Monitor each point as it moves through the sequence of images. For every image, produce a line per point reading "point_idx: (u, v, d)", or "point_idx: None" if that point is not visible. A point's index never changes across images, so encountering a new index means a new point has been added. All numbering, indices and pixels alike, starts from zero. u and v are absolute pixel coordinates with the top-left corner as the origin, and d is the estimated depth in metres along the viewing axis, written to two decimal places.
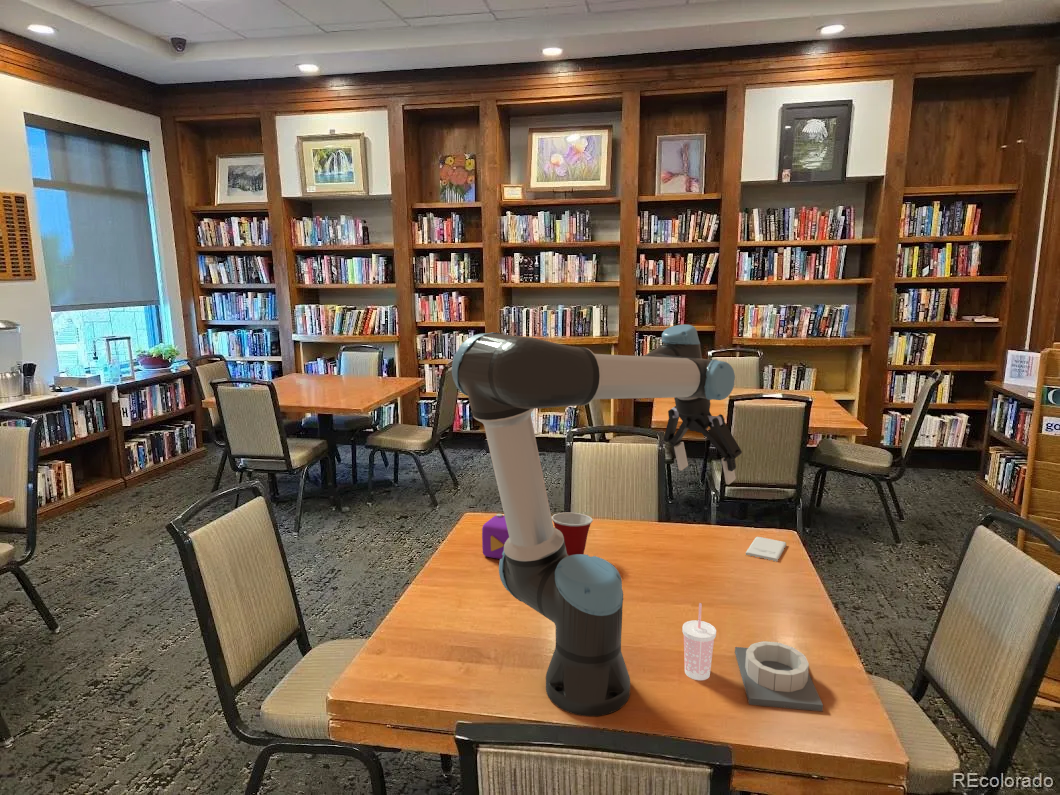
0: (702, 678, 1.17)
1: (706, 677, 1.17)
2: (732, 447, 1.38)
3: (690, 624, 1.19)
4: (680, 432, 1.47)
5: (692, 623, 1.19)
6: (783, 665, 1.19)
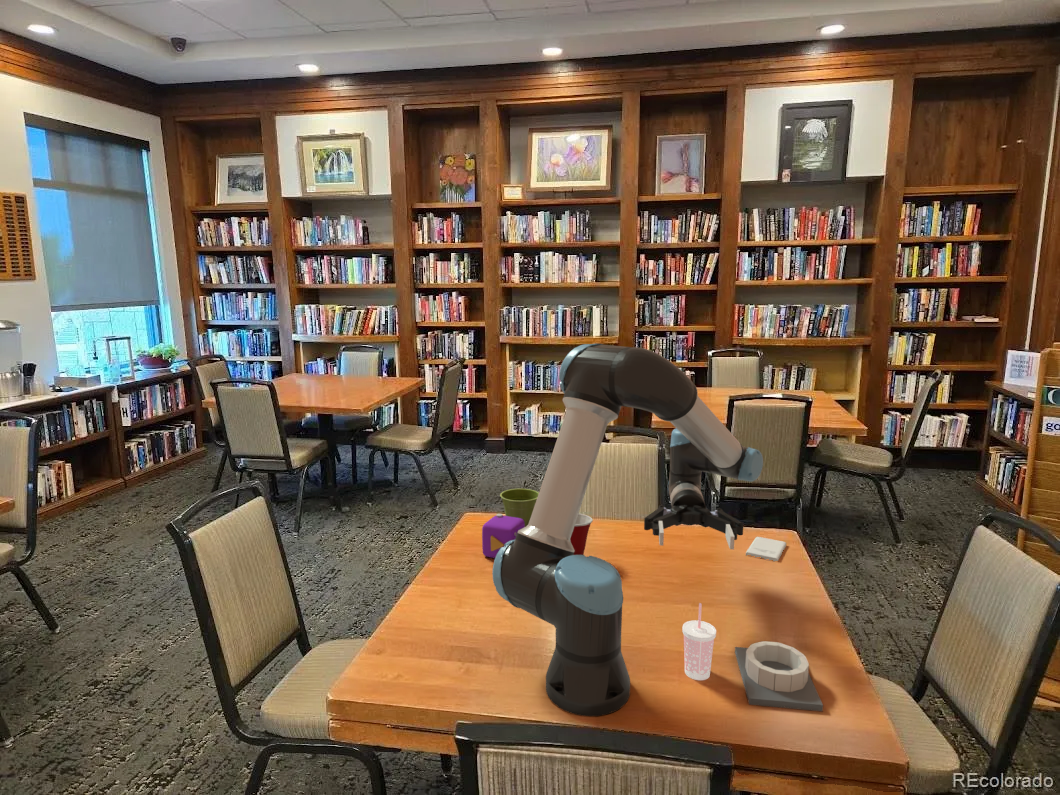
0: (702, 678, 1.17)
1: (706, 677, 1.17)
2: None
3: (690, 624, 1.19)
4: (671, 514, 1.37)
5: (692, 623, 1.19)
6: (783, 665, 1.19)
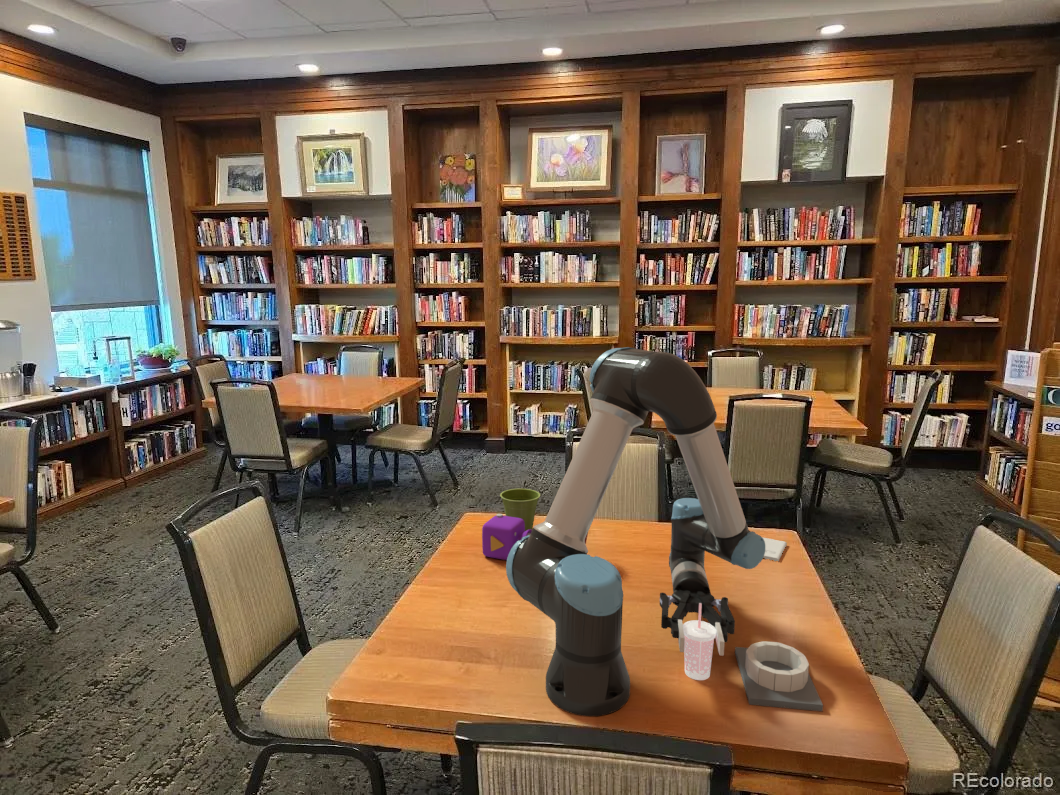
0: (702, 678, 1.17)
1: (706, 677, 1.17)
2: None
3: (690, 624, 1.19)
4: (682, 606, 1.24)
5: (692, 623, 1.19)
6: (783, 665, 1.19)
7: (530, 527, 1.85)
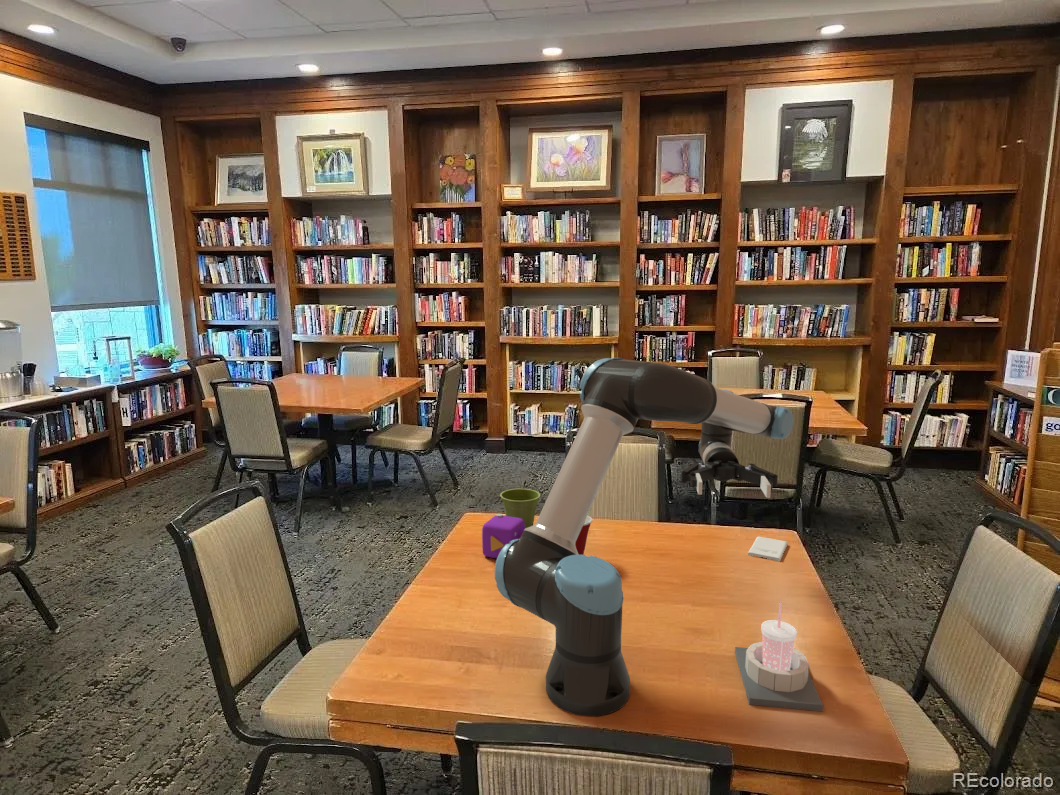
0: None
1: None
2: None
3: (768, 624, 1.17)
4: (707, 468, 1.42)
5: (770, 623, 1.17)
6: None
7: None
